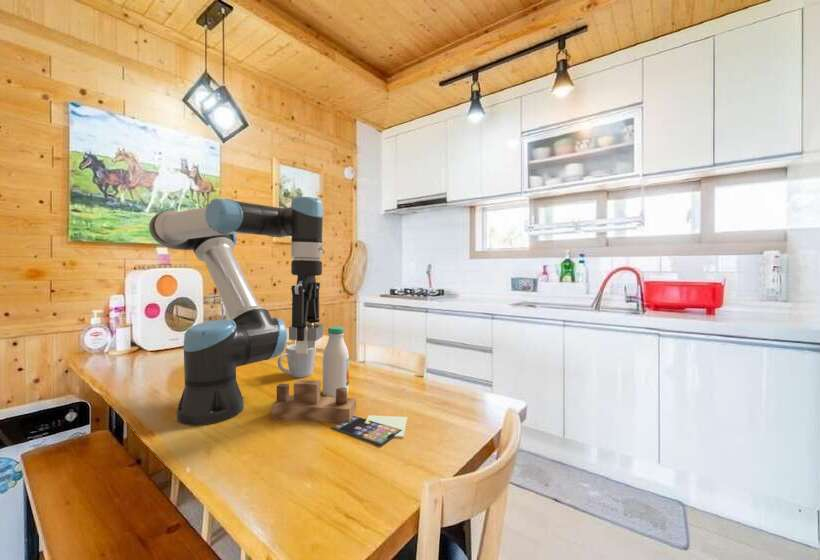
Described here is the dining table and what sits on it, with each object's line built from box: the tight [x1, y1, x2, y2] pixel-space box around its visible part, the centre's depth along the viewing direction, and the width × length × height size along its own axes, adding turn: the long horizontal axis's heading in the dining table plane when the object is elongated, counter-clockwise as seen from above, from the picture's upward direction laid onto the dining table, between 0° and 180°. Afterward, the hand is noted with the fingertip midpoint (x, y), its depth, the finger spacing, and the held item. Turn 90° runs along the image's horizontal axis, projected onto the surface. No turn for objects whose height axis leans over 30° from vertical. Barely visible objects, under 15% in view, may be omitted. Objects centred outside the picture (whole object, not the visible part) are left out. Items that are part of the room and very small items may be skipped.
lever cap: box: [288, 322, 324, 342], centre depth 91 cm, size 7×5×4 cm
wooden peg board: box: [270, 379, 357, 423], centre depth 92 cm, size 20×7×8 cm, turn 85°
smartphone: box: [330, 415, 402, 448], centre depth 84 cm, size 8×15×1 cm, turn 57°
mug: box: [277, 343, 318, 379], centre depth 122 cm, size 10×15×10 cm
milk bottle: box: [322, 325, 350, 397], centre depth 107 cm, size 8×8×20 cm
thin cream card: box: [366, 414, 408, 439], centre depth 86 cm, size 10×10×1 cm
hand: (306, 349), depth 91 cm, fingers closed on lever cap, 5 cm apart
